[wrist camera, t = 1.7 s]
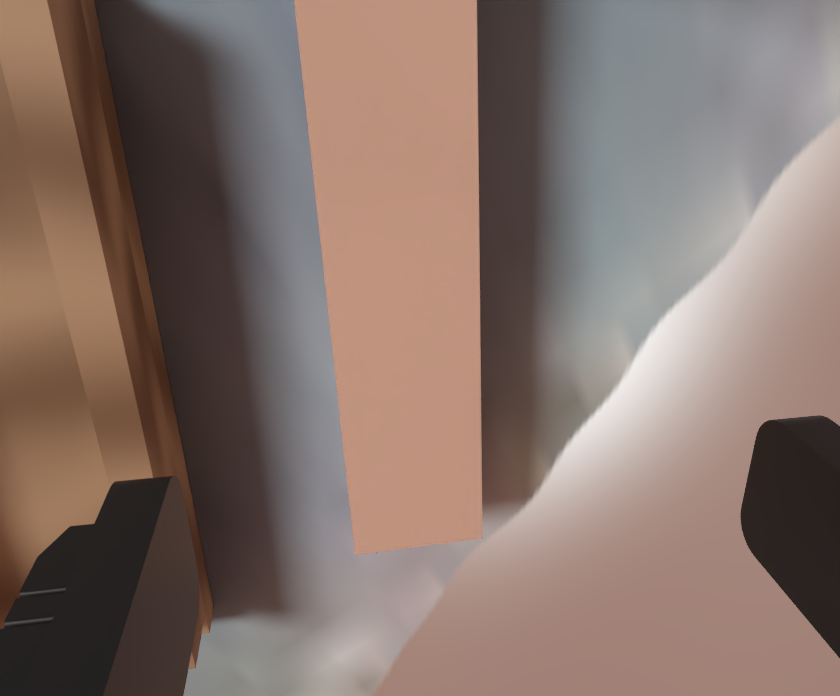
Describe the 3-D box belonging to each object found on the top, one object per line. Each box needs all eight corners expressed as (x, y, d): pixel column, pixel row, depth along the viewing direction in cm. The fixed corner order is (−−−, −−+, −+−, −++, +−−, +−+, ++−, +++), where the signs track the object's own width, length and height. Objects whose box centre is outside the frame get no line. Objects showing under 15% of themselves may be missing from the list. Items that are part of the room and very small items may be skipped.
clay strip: (284, -116, 18) (277, -150, 14) (442, -121, 18) (475, -155, 14) (348, 478, 25) (355, 554, 22) (458, 465, 26) (482, 537, 22)
